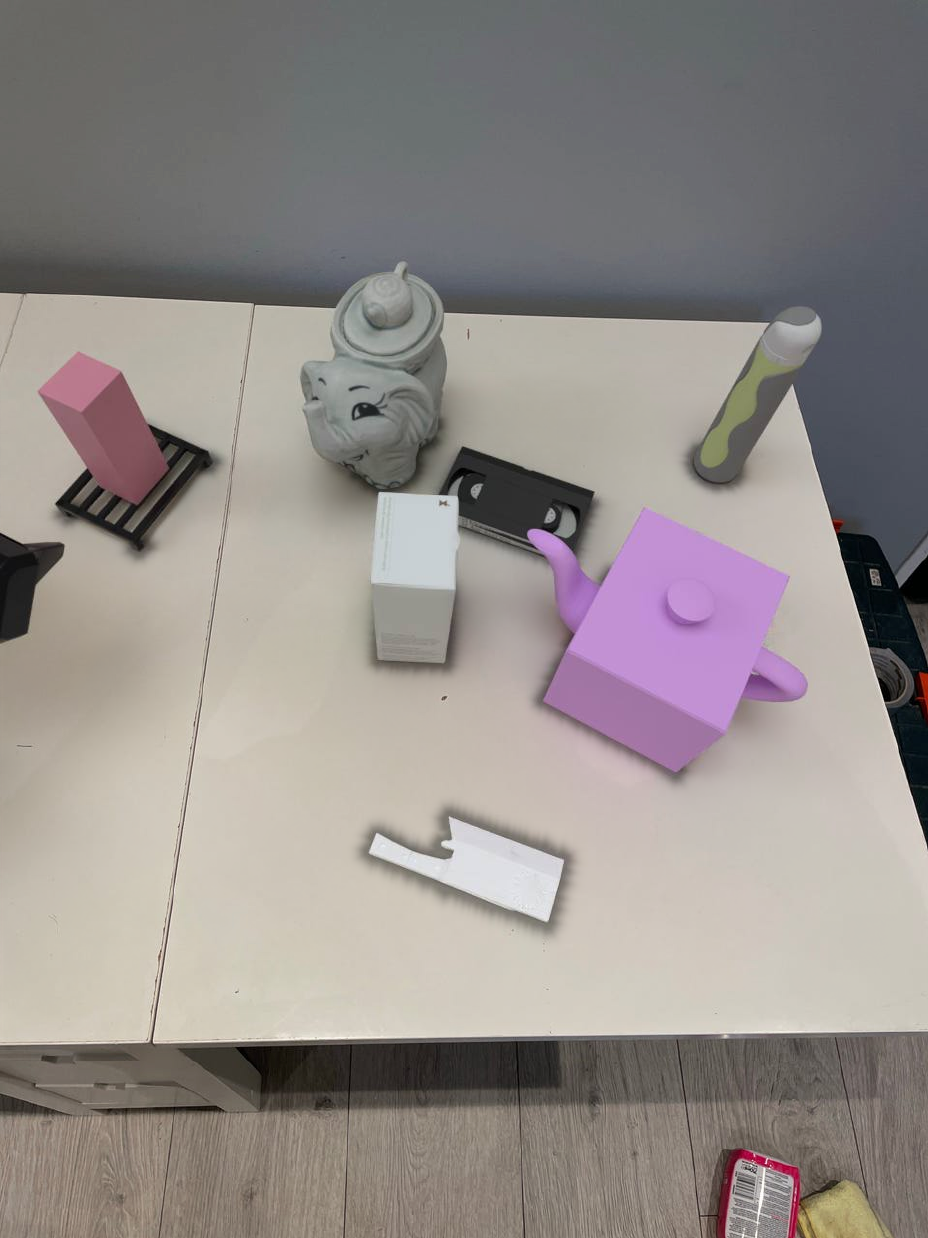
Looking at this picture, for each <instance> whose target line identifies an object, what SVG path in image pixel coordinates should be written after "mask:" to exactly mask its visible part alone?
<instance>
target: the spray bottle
mask: <svg viewBox="0 0 928 1238" xmlns="http://www.w3.org/2000/svg"><path fill="white" fill-rule="evenodd" d="M822 331H823V329H822V320H821V317H820V316H819V315H818V314H817V313H816V311H815V310H814V309H813V308H811V307H808V306H804V305H795V306H791V307H789V308H787V309H785V310H783V311H781V312H779V313H778V314H776V315H775V317H774V318H773V319H772V320H771V321H770V322H769V324H768V325H767V326H766V327H765V329H764V330H763V333H762V335H761V336H760V337H759V338H758V341H756V344H755V346H754V348H753V349H752V351H751V353H750V355H749V357H748V358H747V360H746V362H745V364H744V365H743V367H742V369H741V370H740V373H739V375H738V376H737V378H736V379H735V381H734V383H733V385H732V386H731V388H730V391H729V392H728V394H727V396H726V397H725V399H724V401H723V403H722V404H721V406H720V408H719V410H718V411H717V414H716V416H715V417H714V419H713V420H712V423H711V424H710V426H709V428H708V430H707V431H706V433H705V435H704V437H703V439H702V441H701V442H700V444H699V446H698V448H697V449H696V451H695V453H694V456H693V465H694V469H695V470H696V472H697V474H698V475H700V476H701V478H703V479H705V480H707V481H708V482H711V483H717V484H718V483H719V484H723V483H727V482H729V481H732V480H733V479H734V478H735V477H737V476H738V474H739V472H740V471H741V469H742V468H743V466H744V464H745V463H746V461H747V459H748V458H749V456H750V454H751V452H752V451H753V450H754V447H756V445H757V443H758V442H759V439H760V438H761V436H762V435H763V433H764V432H765V430H766V428H767V426H768V425H769V423H770V422H771V420H772V418H773V417H774V415H775V413H776V412H777V410H778V409H779V407H780V405H781V404H782V402H783V400H784V399H785V397H786V395H787V394H788V392H789V391H790V389H791V387H793V385H794V383H795V381H796V379H797V377H798V376H799V374H800V373H801V371H802V369H803V368H804V366H805V362H806V360H807V359H808V357H809V356H810V354H811V353H812V352H813V349H814V348H815V346H816V344H817V343H818V342H819V340H820V337H821V334H822Z"/></svg>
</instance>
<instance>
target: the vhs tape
mask: <svg viewBox="0 0 928 1238" xmlns="http://www.w3.org/2000/svg"><path fill="white" fill-rule="evenodd" d="M448 472H449V473H448V474H447V477H446V479H445V480H444V483H443V484H442V487H441V489H440V491H439V493H438V495H445V496H457V497H458V500H459V516H458V527H461V528H463V529H467V530H469V531H472V532H475V533H478V534H481V535H483V536H485V537H489V538H492V539H495V540H497V541H500V542H503V543H506V544H509V545H511V546H514V547H517V548H519V549H523V550H525V551H528V552H531V553H534V554H536V555H539V556H543V557H545V556H544V555H543V554H542V553H541V552H540V551H539V550H538V549H537V548H536V547H535V546H534V545H533V544H532V543H531V542H530V540H529V538H528V536H527V533H528V531H529V530H531V529H539V530H543V531H546V532H548V533H550V534H552V535H554V536H556V537H558V538H559V539H560V540H562V541H563V542H564V543H565V544H566V545H567V546H568V547H569V548H570V550H571V551H572V552H573V553H574V549H575V547H576V544H577V541H578V538H579V535H580V533H581V530H582V528H583V525H584V522H585V519H586V517H587V514H588V512H589V509H590V506H591V504H592V501H593V498H594V496H595V493H596V491H595V490H591V489H588V488H585V487H583V486H580V485H576V484H575V483H571V482H568V481H565V480H563V479H560V478H557V477H553V476H551V475H548V474H545V473H542V472H539V471H536V470H534V469H533V470H530V469H527V468H526V467H525V466H521V465H519V464H516V463H513V462H510V461H507V460H504V459H501V458H499V457H496V456H492V455H490V454H487V453H484V452H481V451H478V450H475V449H472V448H470V447H467V446H463V445H462V446H461V447H460V450H459V452H458V454H457V457H456V458H455V460H454V462H453V464H452V466H451V468H450V471H448Z"/></svg>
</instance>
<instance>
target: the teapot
mask: <svg viewBox="0 0 928 1238" xmlns="http://www.w3.org/2000/svg"><path fill="white" fill-rule="evenodd" d="M527 536H528V538H529V540H530V542H531V543H532V544H533V545H534V546H535V547H536V548H537V549H538V550H539V551H540V552H541V553H542V554H543V555H544V556H543V557H545V559H546V560H547V561H548V563H549V565H550V568H551V570H552V575H553V581H554V596H555V597H554V598H555V604H556V608H557V613H558V614H559V616H560V618H561V620H562V621H563V623H564V624H565V625H566V626H567V628H568V629H569V630H570V631H571V632H572V633H573V634H574V635H573V637H572V639H571V640H570V643H569V644H568V646H567V648H566V650H565V652H564V654H563V656H562V658H561V661H560V662H559V665H558V667H557V670H556V672H555V674H554V675H553V678H552V680H551V682H550V685H549V688H548V689H547V691H546V693H545V696H544V697H543V700H542V702H543V703H545V704H547V705H549V706H550V707H552V708H554V709H555V710H558V711H560V712H562V713H564V714H565V715H567V716H569V717H571V718H573V719H574V720H577V721H578V722H581V723H582V724H583V725H586V726H588V727H590V728H591V729H593V730H595V731H597V732H599V733H601V734H603V735H604V736H607V737H608V738H609V739H612V740H614V741H616V742H618V743H620V744H622V745H624V746H625V747H627V748H629V749H631V750H633V751H634V752H637V753H638V754H640V755H642V756H644V757H646V758H647V759H649V760H651V761H653V762H655V763H656V764H658V765H660V766H662V767H664V768H666V769H668V770H670V771H671V772H673V773H675V774H676V773H678V772H679V771H680V770H682V769H683V768H684V767H685V766H687V765H688V764H690V762H692V761H693V760H694V759H695V758H697V757H698V756H700V755H701V754H702V753H703V752H705V751H706V750H707V749H709V748H710V747H711V746H713V745H714V744H715V743H716V742H718V741H719V740H720V739H722V738H723V737H724V736H725V735H726V734H727V732H728V730H729V727H730V725H731V722H732V720H733V717H734V715H735V712H736V710H737V708H738V705H739V703H740V701H741V699H746V700H751V701H752V700H753V701H760V702H765V703H766V702H768V703H790V702H795V701H798V700H800V699H802V698H803V697H804V696H805V695H806V694H807V692H808V687H809V682H808V680H807V678H806V676H805V674H804V673H803V672H802V671H801V670H800V669H799V668H798V667H796V666H795V665H794V664H793V663H792V662H790V661H788V660H787V659H785V658H783V657H782V656H780V655H779V654H777V653H775V652H773V651H772V650H770V649H768V648H766V647H764V646H763V645H764V642H765V639H766V636H767V634H768V632H769V629H770V627H771V624H772V622H773V619H774V618H775V614H776V612H777V610H778V607H779V605H780V603H781V600H782V597H783V595H784V593H785V590H786V588H787V586H788V583H789V580H790V578H791V576H790V575H789V574H787V573H784V572H782V571H780V570H778V569H776V568H774V567H771V566H769V565H768V564H766V563H763V562H761V561H759V560H757V559H755V558H753V557H751V556H749V555H748V554H745V553H743V552H741V551H739V550H737V549H735V548H732V547H730V546H728V545H726V544H724V543H722V542H720V541H718V540H716V539H714V538H711V537H709V536H707V535H705V534H703V533H700V532H698V531H696V530H695V529H693V528H690V527H689V526H687V525H684V524H681V523H679V522H677V521H675V520H673V519H671V518H668V517H667V516H664V515H662V514H660V513H658V512H656V511H654V510H652V509H650V508H648V507H646V506H643V508H642V510H641V511H640V514H639V515H638V516H637V519H636V521H635V523H634V525H633V526H632V528H631V530H630V532H629V534H628V535H627V537H626V539H625V541H624V543H623V545H622V546H621V549H620V550H619V552H618V554H617V556H616V558H615V559H614V561H613V563H612V565H611V567H610V569H609V571H608V573H607V574H606V576H605V578H604V580H603V581H602V583H601V585H599V584H598V583H596V582H595V580H592V579H591V578H590V577H589V576H588V575H587V574H586V573H585V572H584V570H583V569H582V567H581V566H580V563H579V560H578V558H577V557H576V555H575V553H574V551H573V552H572V551H571V550H570V548H569V547H568V546H567V545H566V544H565V543H564V542H563V541H562V540H560V539H559V538H558V537H556V536H554V535H552V534H550V533H548V532H546V531H543V530H539V529H531V530H529V531H528V533H527ZM752 672H754V673H755V674H754V673H752Z"/></svg>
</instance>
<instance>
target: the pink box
mask: <svg viewBox="0 0 928 1238" xmlns="http://www.w3.org/2000/svg"><path fill="white" fill-rule="evenodd" d="M36 392H37V394H38V395H39V396H40V398H41V400H42V402H43V403H44V404H45V406H46V407H47V409H48V410H49V412H50V413H51V415H52V416H53V418H54V419H55V421H56V423H57V424H58V425H59V427H60V429H61V430H62V431H63V433H64V435H65V437H66V438H67V439H68V441H69V442H70V444H71V445H72V447H73V448H74V450H75V451H76V453H77V455H78V456H79V457H80V459H81V460H82V462H83V463H84V465H85V467H86V469H87V468H88V470H89V471H90V473H91V474H92V476H93V479H94V481H95V482H96V483H97V486H98V485H99V486H100V487H101V488H103V489H105V491H107V492H109V493H111V494H113V495H117V496H119V497H121V498H123V499H122V500H125V501H127V502H130V503H131V504H132V503H134V504H136V505H138V504H139V503H140V502H141V501H142V499H143V498H144V497H145V496H146V495H147V494H148V493H149V491H150V490H151V489H152V488H153V487H154V486H155V484H156V483H157V482H158V481H159V480H160V479H161V478H162V476H163V475H164V474H165V473H166V472H167V471H168V469H169V467H168V465H167V461H166V459H165V456H164V454H163V452H161V450H160V448H159V446H158V444H159V443H158V442H157V440H156V439H155V438H156V437H154V436H153V434H152V432H151V430H150V428H149V426H148V424H149V423H148V422H147V421H146V418H145V416H144V414H143V412H142V410H141V408H140V406H139V404H138V402H137V400H136V398H135V396H134V394H133V391H132V390H131V387H130V385H129V383H128V382H127V380H126V378H125V375H124V373H123V372H122V370H120V369H119V368H115V367H113V366H111V365H109V364H107V363H105V362H102V361H100V360H98V359H97V358H93V357H91V356H89V355H87V354H85V353H83V352H81V351H77V352H76V353H75V354H73V356H71V358H70V359H69V360H67V362H65V363H64V364H63V365H62V366H61V367H60V368H59V369H58V370H57V371H56V372H55V373H53V375H52V376H51V377H50V378H49V379H48V380H47V381H45V383H43V384H42V386H41V387H40V388H39V389H38V390H37V391H36Z"/></svg>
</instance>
